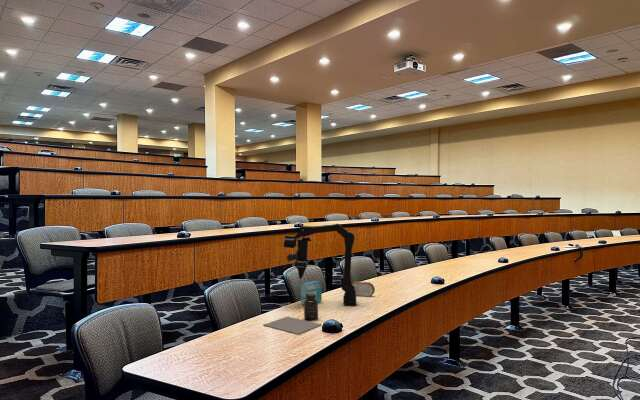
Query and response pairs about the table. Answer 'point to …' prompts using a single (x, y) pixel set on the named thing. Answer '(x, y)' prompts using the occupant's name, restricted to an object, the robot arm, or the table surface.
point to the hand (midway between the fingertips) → (301, 277)
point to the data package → (311, 290)
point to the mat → (292, 325)
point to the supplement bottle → (310, 307)
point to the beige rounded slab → (363, 288)
